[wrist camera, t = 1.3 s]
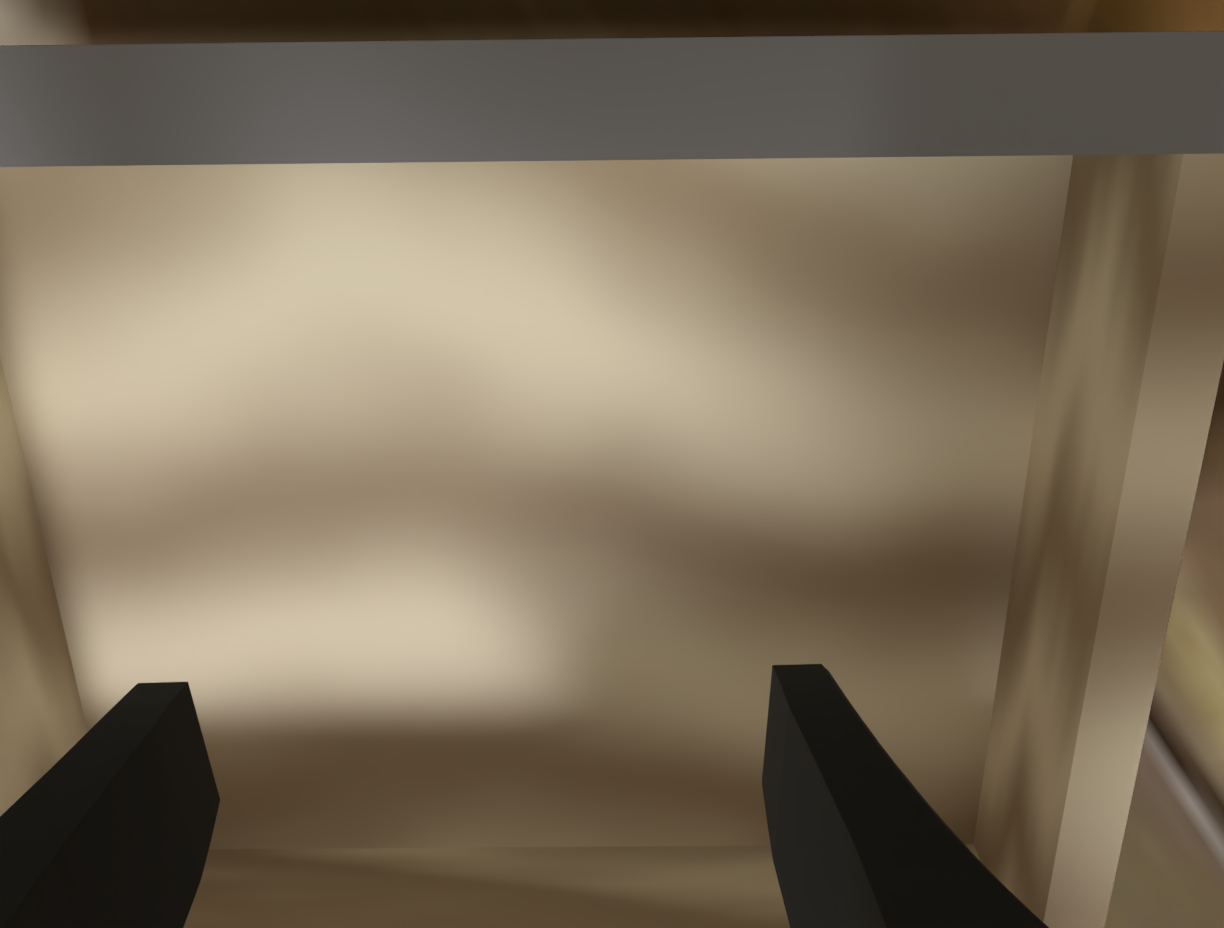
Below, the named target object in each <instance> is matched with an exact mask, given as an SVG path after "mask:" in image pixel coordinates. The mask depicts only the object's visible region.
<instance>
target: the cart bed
mask: <svg viewBox="0 0 1224 928" xmlns="http://www.w3.org/2000/svg"><path fill="white" fill-rule="evenodd" d="M1223 361H1224V153H1219V154H1129V155H1039V156H949V157H859V158H769V159H679V160H589V161H499V162H409V163H319V164H229V165H139V166H48V167H0V816H1V815H2V814H3V813H4V812H5V811H7V810H8V809H9V808H10V807H11V806H12V805H13V804H14V803H15V802H16V801H17V800H18V799H19V798H20V797H21V796H22V795H23V794H24V793H25V792H26V791H28V790H29V789H30V788H31V787H32V786H33V785H34V784H35V783H36V782H37V781H38V780H39V779H40V778H41V777H42V776H43V775H44V774H45V773H46V772H47V771H48V770H50V769H51V768H52V767H53V766H54V765H55V764H56V763H57V762H58V761H59V760H60V759H61V758H62V757H63V756H64V755H65V754H66V753H67V752H68V751H69V750H70V749H71V748H72V747H73V746H74V745H75V744H76V743H77V742H78V741H79V740H80V739H81V738H82V737H83V736H84V735H85V734H86V733H87V732H88V731H89V730H90V729H91V728H92V727H93V726H94V725H95V724H96V723H97V722H98V721H99V720H100V719H101V718H102V717H103V716H104V715H105V714H106V713H107V712H108V711H110V710H111V709H112V708H113V707H114V706H115V705H116V704H117V703H118V702H119V701H120V700H121V699H122V698H123V697H124V696H125V695H126V694H127V693H128V692H129V691H130V690H131V689H132V688H133V687H134V686H135V685H136V684H138V683H158V682H188V684H189V688H190V691H191V695H192V698H193V702H194V706H195V709H196V713H197V717H198V720H199V724H200V728H201V731H202V735H203V739H204V742H205V746H206V749H207V753H208V757H209V760H210V764H211V768H212V771H213V775H214V779H215V782H216V786H217V790H218V793H219V797H220V803H219V808H218V812H217V816H216V821H215V825H214V830H213V834H212V838H211V843H210V847H209V851H208V855H207V858H206V862H205V866H204V870H203V874H202V878H201V881H200V884H199V887H198V889H197V892H196V895H195V898H194V900H193V903H192V906H191V908H190V911H189V914H188V916H187V919H186V922H185V924H184V927H183V928H790V925H789V921H788V917H787V913H786V909H785V905H784V902H783V898H782V894H781V890H780V886H779V882H778V878H777V874H776V871H775V867H774V863H773V857H772V851H771V844H770V838H769V831H768V825H767V817H766V810H765V803H764V796H763V789H762V774H763V763H764V752H765V741H766V730H767V719H768V708H769V697H770V686H771V675H772V665H796V664H822V665H823V666H824V667H825V668H826V669H827V670H828V671H829V672H830V673H831V675H832V676H833V678H834V680H835V681H836V683H837V684H838V686H839V687H840V688H841V690H842V691H843V693H844V694H845V696H846V697H847V699H848V700H849V702H850V703H851V704H852V706H853V707H854V709H855V710H856V712H857V713H858V714H859V716H860V717H861V719H862V720H863V721H864V723H865V724H866V725H867V727H868V728H869V729H870V731H871V732H872V733H873V735H874V736H875V738H876V739H877V740H878V742H879V743H880V744H881V746H882V747H883V748H884V749H885V751H886V752H887V753H888V755H889V756H890V757H891V758H892V760H893V761H894V762H895V764H896V765H897V766H898V767H899V768H900V770H901V771H902V772H903V773H904V775H905V776H906V777H907V778H908V780H909V781H910V782H911V783H912V784H913V786H914V787H915V788H916V789H917V791H918V792H919V793H920V794H921V795H922V797H923V798H924V799H925V800H926V802H927V803H928V804H929V805H930V806H931V807H932V808H933V810H934V811H935V812H936V813H937V814H938V815H939V817H940V818H941V819H942V820H943V821H944V822H945V823H946V825H947V826H948V827H949V828H950V829H951V830H952V831H953V832H954V833H955V834H956V836H957V837H958V838H959V839H960V840H961V841H962V842H963V843H964V844H965V845H966V847H967V848H968V849H969V850H970V851H971V852H972V853H973V854H974V855H975V856H976V857H977V858H978V859H979V860H980V861H981V862H982V863H983V865H984V866H985V867H986V868H987V869H988V870H989V871H990V872H991V873H992V874H993V875H994V876H995V877H996V878H997V879H998V880H999V881H1000V882H1001V883H1002V884H1003V885H1004V886H1005V887H1006V888H1007V889H1008V890H1009V891H1010V892H1012V893H1013V894H1014V895H1015V896H1016V897H1017V898H1018V899H1019V900H1020V901H1021V902H1022V903H1023V904H1024V905H1025V906H1026V907H1027V908H1028V909H1029V910H1030V911H1031V912H1032V913H1033V914H1035V915H1036V916H1037V917H1038V918H1039V919H1040V920H1041V921H1042V922H1044V923H1045V924H1046V925H1047V926H1048V927H1049V928H1104V927H1105V922H1106V917H1107V913H1108V908H1109V903H1110V898H1111V894H1112V889H1113V884H1114V879H1115V874H1116V870H1117V865H1118V860H1119V855H1120V851H1121V846H1122V841H1123V836H1124V832H1125V827H1126V822H1127V817H1128V813H1129V808H1130V803H1131V798H1132V794H1133V789H1134V784H1135V779H1136V775H1137V770H1138V765H1139V760H1140V756H1141V751H1142V746H1143V741H1144V737H1145V732H1146V727H1147V722H1148V718H1149V713H1150V708H1151V703H1152V699H1153V694H1154V689H1155V684H1156V679H1157V675H1158V670H1159V665H1160V660H1161V656H1162V651H1163V646H1164V641H1165V637H1166V632H1167V627H1168V622H1169V618H1170V613H1171V608H1172V603H1173V599H1174V594H1175V589H1176V584H1177V580H1178V575H1179V570H1180V565H1181V561H1182V556H1183V551H1184V546H1185V542H1186V537H1187V532H1188V527H1189V523H1190V518H1191V513H1192V508H1193V504H1194V499H1195V494H1196V489H1197V484H1198V480H1199V475H1200V470H1201V465H1202V461H1203V456H1204V451H1205V446H1206V442H1207V437H1208V432H1209V427H1210V423H1211V418H1212V413H1213V408H1214V404H1215V399H1216V394H1217V389H1218V385H1219V380H1220V375H1221V370H1222V366H1223Z"/></svg>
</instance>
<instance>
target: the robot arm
mask: <svg viewBox="0 0 1224 928" xmlns="http://www.w3.org/2000/svg"><path fill="white" fill-rule="evenodd" d="M762 789H763V796H764V803H765V810H766V817H767V825H768V831H769V838H770V844H771V851H772V857H773V863H774V867H775V871H776V874H777V878H778V882H779V886H780V890H781V894H782V898H783V902H784V905H785V909H786V913H787V917H788V921H789V925H790V928H1049V927H1048V926H1047V925H1046V924H1045V923H1044V922H1042V921H1041V920H1040V919H1039V918H1038V917H1037V916H1036V915H1035V914H1033V913H1032V912H1031V911H1030V910H1029V909H1028V908H1027V907H1026V906H1025V905H1024V904H1023V903H1022V902H1021V901H1020V900H1019V899H1018V898H1017V897H1016V896H1015V895H1014V894H1013V893H1012V892H1010V891H1009V890H1008V889H1007V888H1006V887H1005V886H1004V885H1003V884H1002V883H1001V882H1000V881H999V880H998V879H997V878H996V877H995V876H994V875H993V874H992V873H991V872H990V871H989V870H988V869H987V868H986V867H985V866H984V865H983V863H982V862H981V861H980V860H979V859H978V858H977V857H976V856H975V855H974V854H973V853H972V852H971V851H970V850H969V849H968V848H967V847H966V845H965V844H964V843H963V842H962V841H961V840H960V839H959V838H958V837H957V836H956V834H955V833H954V832H953V831H952V830H951V829H950V828H949V827H948V826H947V825H946V823H945V822H944V821H943V820H942V819H941V818H940V817H939V815H938V814H937V813H936V812H935V811H934V810H933V808H932V807H931V806H930V805H929V804H928V803H927V802H926V800H925V799H924V798H923V797H922V795H921V794H920V793H919V792H918V791H917V789H916V788H915V787H914V786H913V784H912V783H911V782H910V781H909V780H908V778H907V777H906V776H905V775H904V773H903V772H902V771H901V770H900V768H899V767H898V766H897V765H896V764H895V762H894V761H893V760H892V758H891V757H890V756H889V755H888V753H887V752H886V751H885V749H884V748H883V747H882V746H881V744H880V743H879V742H878V740H877V739H876V738H875V736H874V735H873V733H872V732H871V731H870V729H869V728H868V727H867V725H866V724H865V723H864V721H863V720H862V719H861V717H860V716H859V714H858V713H857V712H856V710H855V709H854V707H853V706H852V704H851V703H850V702H849V700H848V699H847V697H846V696H845V694H844V693H843V691H842V690H841V688H840V687H839V686H838V684H837V683H836V681H835V680H834V678H833V676H832V675H831V673H830V672H829V671H828V670H827V669H826V668H825V667H824V666H823V665H822V664H796V665H772V675H771V686H770V697H769V708H768V719H767V730H766V741H765V752H764V763H763V774H762ZM219 803H220V797H219V793H218V790H217V786H216V782H215V779H214V775H213V771H212V768H211V764H210V760H209V757H208V753H207V749H206V746H205V742H204V739H203V735H202V731H201V728H200V724H199V720H198V717H197V713H196V709H195V706H194V702H193V698H192V695H191V691H190V688H189V684H188V682H158V683H138V684H136V685H135V686H134V687H133V688H132V689H131V690H130V691H129V692H128V693H127V694H126V695H125V696H124V697H123V698H122V699H121V700H120V701H119V702H118V703H117V704H116V705H115V706H114V707H113V708H112V709H111V710H110V711H108V712H107V713H106V714H105V715H104V716H103V717H102V718H101V719H100V720H99V721H98V722H97V723H96V724H95V725H94V726H93V727H92V728H91V729H90V730H89V731H88V732H87V733H86V734H85V735H84V736H83V737H82V738H81V739H80V740H79V741H78V742H77V743H76V744H75V745H74V746H73V747H72V748H71V749H70V750H69V751H68V752H67V753H66V754H65V755H64V756H63V757H62V758H61V759H60V760H59V761H58V762H57V763H56V764H55V765H54V766H53V767H52V768H51V769H50V770H48V771H47V772H46V773H45V774H44V775H43V776H42V777H41V778H40V779H39V780H38V781H37V782H36V783H35V784H34V785H33V786H32V787H31V788H30V789H29V790H28V791H26V792H25V793H24V794H23V795H22V796H21V797H20V798H19V799H18V800H17V801H16V802H15V803H14V804H13V805H12V806H11V807H10V808H9V809H8V810H7V811H5V812H4V813H3V814H2V815H1V816H0V928H183V927H184V924H185V922H186V919H187V916H188V914H189V911H190V908H191V906H192V903H193V900H194V898H195V895H196V892H197V889H198V887H199V884H200V881H201V878H202V874H203V870H204V866H205V862H206V858H207V855H208V851H209V847H210V843H211V838H212V834H213V830H214V825H215V821H216V816H217V812H218V808H219Z"/></svg>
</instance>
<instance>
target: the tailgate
mask: <svg viewBox="0 0 1224 928" xmlns="http://www.w3.org/2000/svg"><path fill="white" fill-rule="evenodd" d="M1219 153H1224V31H1195V32H1111V33H1027V34H943V35H859V36H775V37H691V38H607V39H523V40H438V41H354V42H270V43H186V44H102V45H18V46H0V167H48V166H139V165H229V164H319V163H409V162H499V161H589V160H679V159H769V158H859V157H949V156H1039V155H1129V154H1219Z"/></svg>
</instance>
